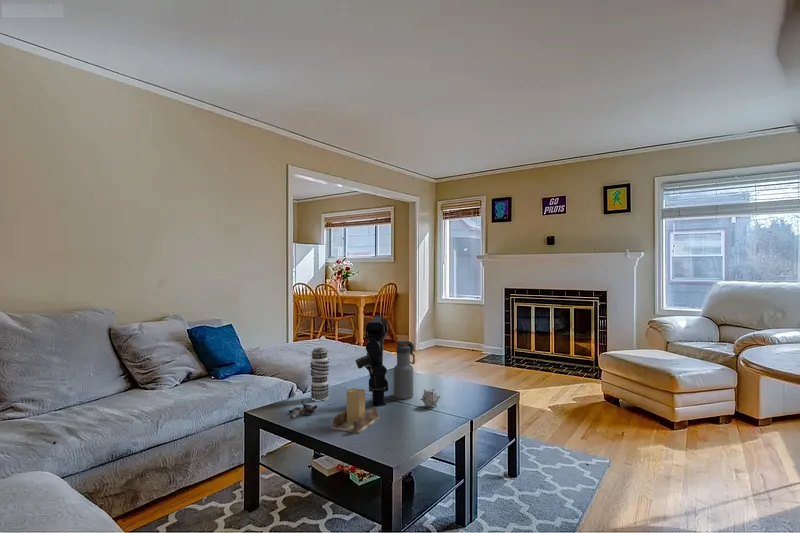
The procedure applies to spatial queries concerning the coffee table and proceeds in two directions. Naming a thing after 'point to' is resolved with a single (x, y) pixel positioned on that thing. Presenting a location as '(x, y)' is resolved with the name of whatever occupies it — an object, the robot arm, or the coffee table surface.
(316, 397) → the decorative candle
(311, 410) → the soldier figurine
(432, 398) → the game die
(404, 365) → the water bottle
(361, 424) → the brown open-ended tray
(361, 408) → the pillar
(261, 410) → the coffee table surface
